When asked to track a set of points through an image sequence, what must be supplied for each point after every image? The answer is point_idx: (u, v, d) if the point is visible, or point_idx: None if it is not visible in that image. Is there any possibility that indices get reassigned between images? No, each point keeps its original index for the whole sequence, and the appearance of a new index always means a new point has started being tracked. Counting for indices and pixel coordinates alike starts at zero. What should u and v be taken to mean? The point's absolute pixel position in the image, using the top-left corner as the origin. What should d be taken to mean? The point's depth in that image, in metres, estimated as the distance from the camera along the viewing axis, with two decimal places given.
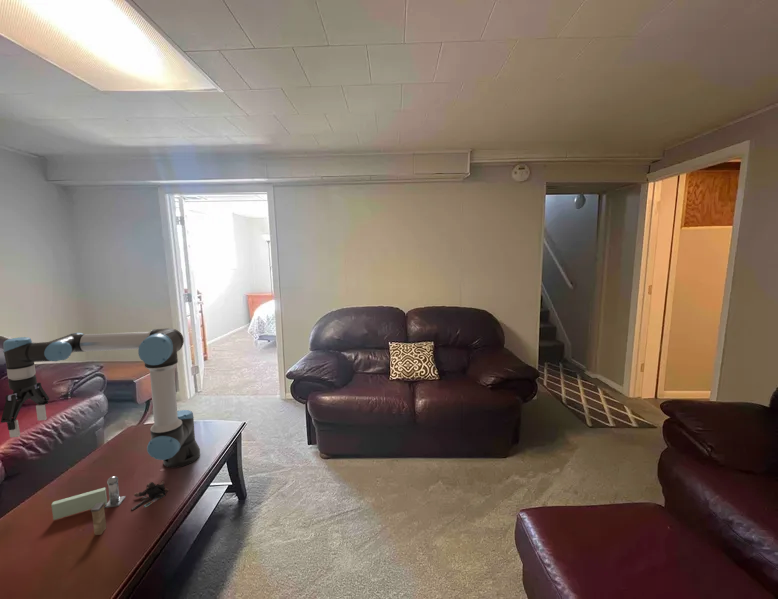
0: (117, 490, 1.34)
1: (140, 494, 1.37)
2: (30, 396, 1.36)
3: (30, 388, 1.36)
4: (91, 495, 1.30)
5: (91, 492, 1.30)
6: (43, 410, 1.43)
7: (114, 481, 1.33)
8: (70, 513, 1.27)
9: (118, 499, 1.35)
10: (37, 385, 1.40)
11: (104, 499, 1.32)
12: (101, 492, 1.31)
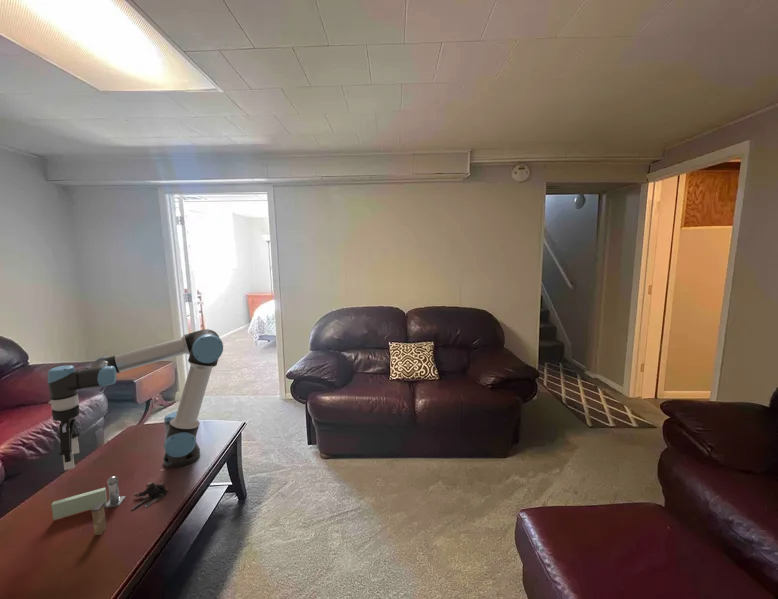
0: (117, 490, 1.34)
1: (140, 494, 1.37)
2: None
3: (71, 417, 1.32)
4: (91, 495, 1.30)
5: (91, 492, 1.30)
6: (77, 443, 1.36)
7: (114, 481, 1.33)
8: (70, 513, 1.27)
9: (118, 499, 1.35)
10: None
11: (104, 499, 1.32)
12: (101, 492, 1.31)
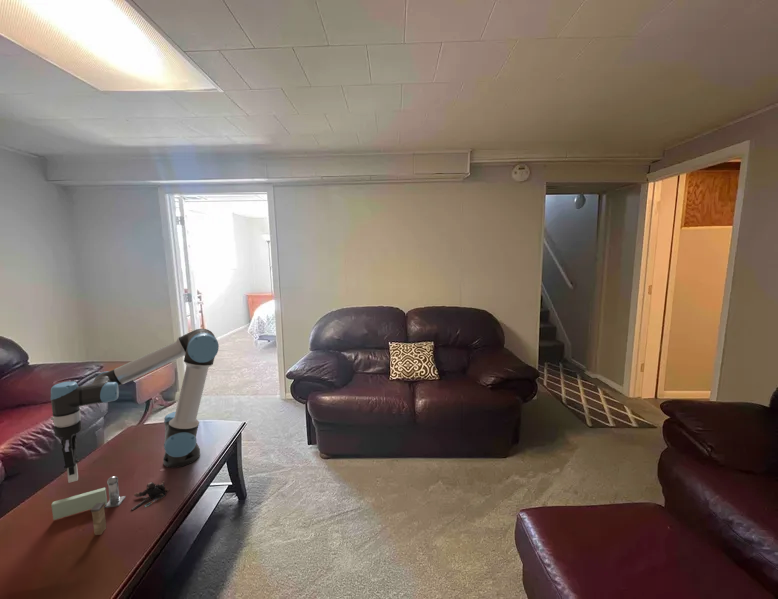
0: (117, 490, 1.34)
1: (140, 494, 1.37)
2: None
3: None
4: (91, 495, 1.30)
5: (91, 492, 1.30)
6: None
7: (114, 481, 1.33)
8: (70, 513, 1.27)
9: (118, 499, 1.35)
10: (74, 435, 1.35)
11: (104, 499, 1.32)
12: (101, 492, 1.31)
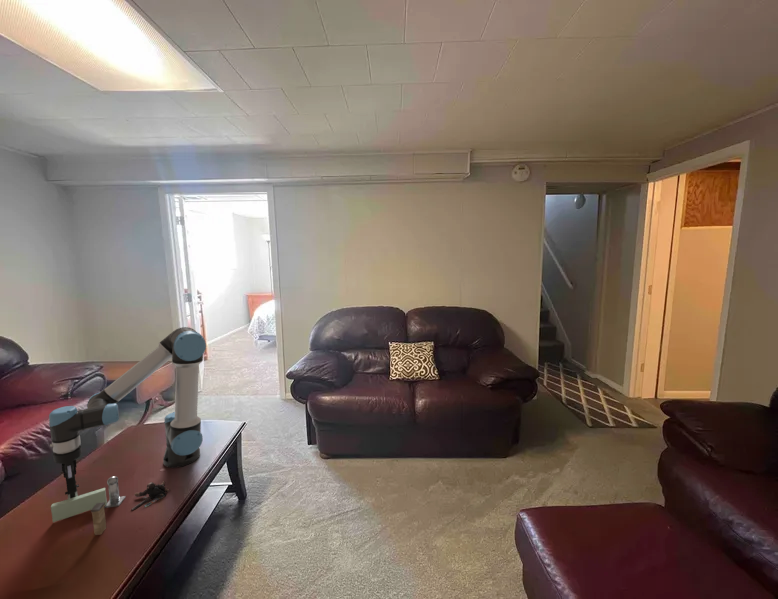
0: (117, 490, 1.34)
1: (140, 494, 1.37)
2: None
3: None
4: (91, 496, 1.29)
5: (91, 493, 1.30)
6: None
7: (114, 481, 1.33)
8: (70, 515, 1.26)
9: (118, 499, 1.35)
10: None
11: (104, 499, 1.32)
12: (101, 492, 1.31)
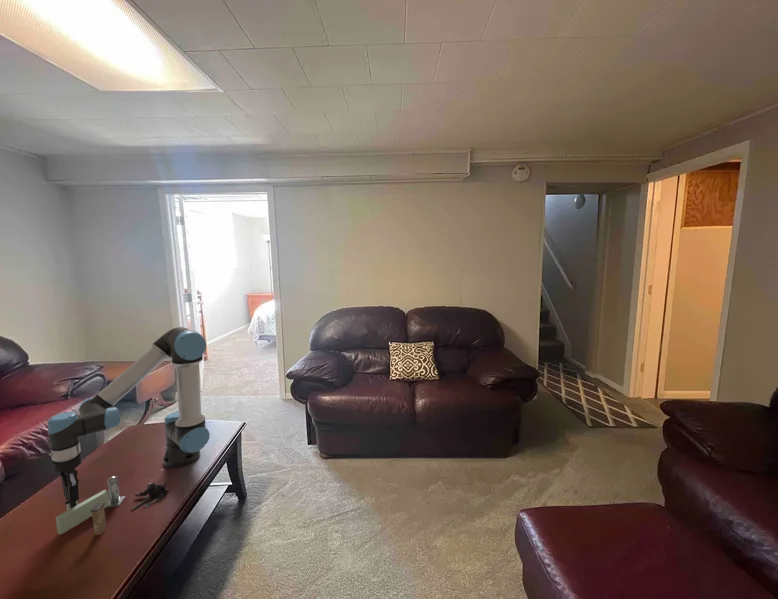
0: (117, 490, 1.34)
1: (141, 494, 1.37)
2: None
3: None
4: (96, 499, 1.28)
5: (94, 497, 1.28)
6: (76, 504, 1.25)
7: (114, 481, 1.33)
8: (77, 523, 1.22)
9: (118, 499, 1.35)
10: None
11: (107, 500, 1.31)
12: (104, 494, 1.30)
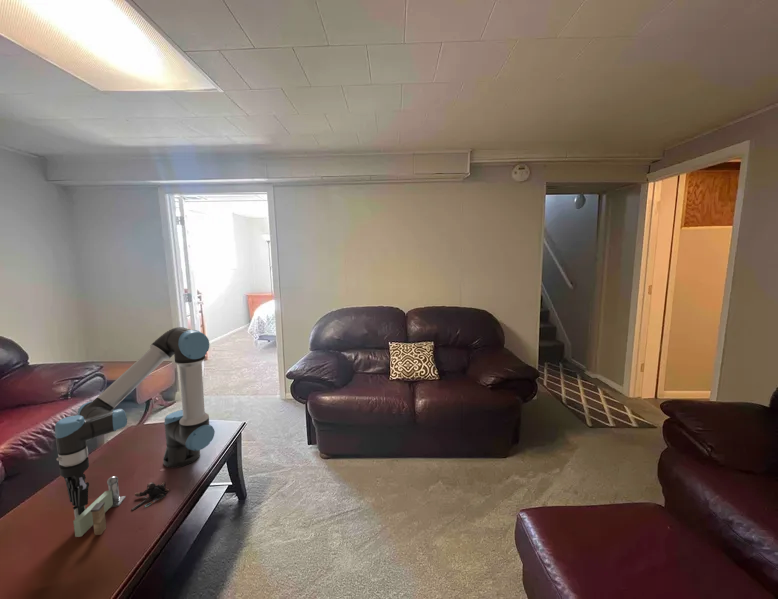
0: (117, 490, 1.34)
1: (141, 494, 1.37)
2: None
3: None
4: (103, 499, 1.28)
5: (100, 498, 1.27)
6: None
7: (114, 481, 1.33)
8: (91, 524, 1.22)
9: (118, 499, 1.35)
10: None
11: (111, 500, 1.32)
12: (109, 493, 1.31)
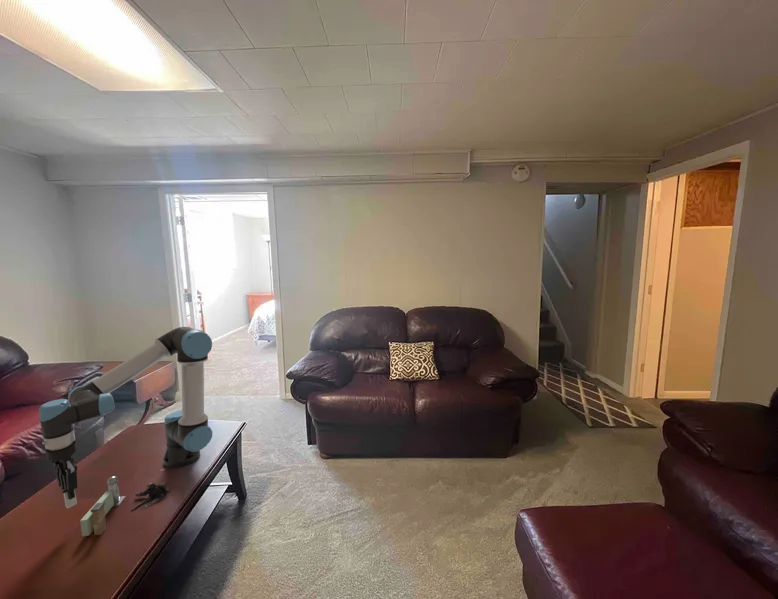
0: (117, 490, 1.34)
1: (141, 494, 1.37)
2: None
3: None
4: (106, 499, 1.28)
5: (103, 497, 1.28)
6: None
7: (114, 481, 1.33)
8: None
9: (118, 499, 1.35)
10: None
11: (112, 500, 1.32)
12: (111, 493, 1.31)
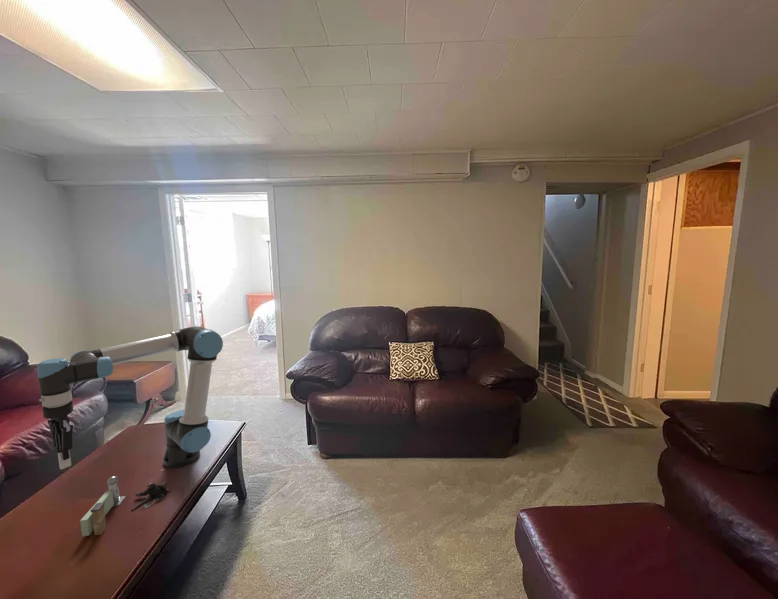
0: (117, 490, 1.34)
1: (141, 494, 1.37)
2: None
3: None
4: (106, 499, 1.28)
5: (103, 497, 1.28)
6: None
7: (114, 481, 1.33)
8: None
9: (118, 499, 1.35)
10: None
11: (112, 500, 1.32)
12: (111, 493, 1.31)
